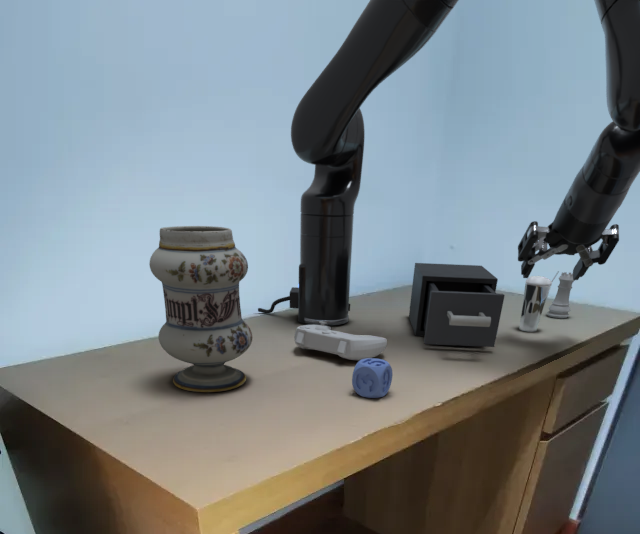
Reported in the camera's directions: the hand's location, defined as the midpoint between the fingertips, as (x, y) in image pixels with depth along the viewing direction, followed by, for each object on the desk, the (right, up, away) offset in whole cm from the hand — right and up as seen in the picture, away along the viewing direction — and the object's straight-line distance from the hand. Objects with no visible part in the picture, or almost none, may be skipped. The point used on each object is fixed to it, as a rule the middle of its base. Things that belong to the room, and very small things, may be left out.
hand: (549, 274), depth 98 cm
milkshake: (0, -6, +9) cm, 11 cm away
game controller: (-37, -17, -8) cm, 42 cm away
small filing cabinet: (-16, -5, +9) cm, 19 cm away
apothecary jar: (-55, -25, -20) cm, 64 cm away
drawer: (-17, -12, -2) cm, 21 cm away
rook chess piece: (+9, +1, +20) cm, 22 cm away
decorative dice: (-33, -28, -22) cm, 48 cm away
